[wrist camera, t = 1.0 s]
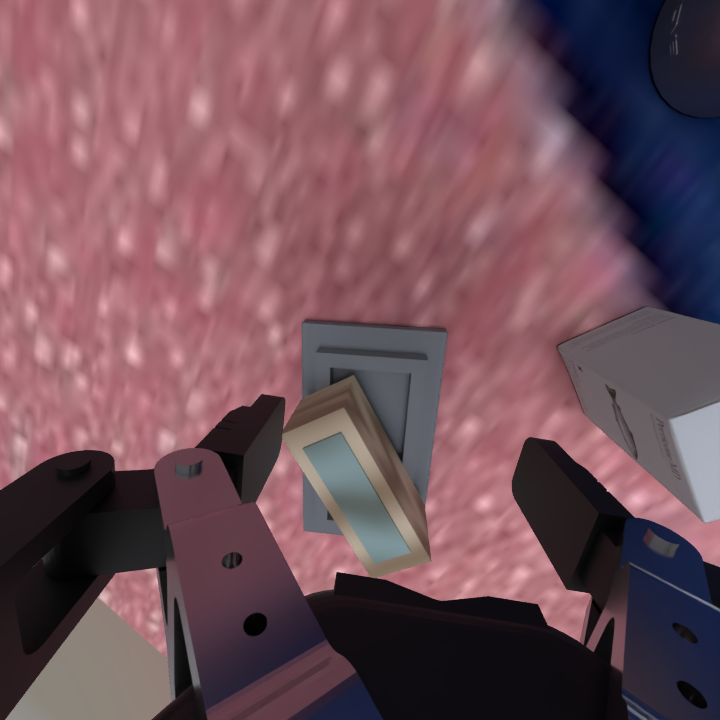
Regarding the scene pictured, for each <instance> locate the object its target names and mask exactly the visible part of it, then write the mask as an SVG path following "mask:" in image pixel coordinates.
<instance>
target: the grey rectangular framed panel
mask: <svg viewBox="0 0 720 720" xmlns="http://www.w3.org/2000/svg"><path fill="white" fill-rule="evenodd" d="M447 335H448V332H447V331H446V329H435V328H420V327H405V326H389V325H374V324H359V323H343V322H328V321H313V320H305V321H304V322H302V393H303V398H304V397H306V396H308V395H311V394H313V393H315V392H317V391H319V390H322V389H324V388H326V387H328V386H330V385H333V384H335V383H337V382H339V381H341V380H344V379H346V378H348V377H350V376H352V375H354V376H355V378H356V380H357V382H358V383H359V385H360V387H361V389H362V391H363V393H364V394H365V396H366V398H367V400H368V402H369V404H370V405H371V407H372V409H373V411H374V413H375V415H376V416H377V418H378V420H379V422H380V424H381V426H382V427H383V429H384V431H385V433H386V435H387V437H388V438H389V440H390V442H391V444H392V446H393V448H394V449H395V451H396V453H397V455H398V457H399V459H400V460H401V462H402V464H403V466H404V468H405V469H406V471H407V473H408V475H409V477H410V479H411V480H412V482H413V484H414V486H415V488H416V490H417V491H418V493H419V495H420V497H421V499H422V501H423V502H424V504H425V503H426V495H427V487H428V480H429V472H430V464H431V457H432V449H433V442H434V434H435V426H436V419H437V411H438V403H439V396H440V388H441V381H442V373H443V365H444V358H445V350H446V342H447ZM303 517H304V531H309V532H318V533H327V534H336V535H343V533H342V531H341V530H340V528H339V527H338V525H337V524H336V522H335V521H334V519H333V517H332V516H331V514H330V513H329V511H328V510H327V508H326V506H325V505H324V503H323V502H322V500H321V499H320V497H319V495H318V494H317V492H316V491H315V489H314V488H313V486H312V485H311V483H310V481H309V480H308V478H307V477H306V475H305V474H304V472H303Z"/></svg>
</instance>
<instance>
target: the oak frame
mask: <svg viewBox="0 0 720 720" xmlns="http://www.w3.org/2000/svg"><path fill="white" fill-rule="evenodd" d="M282 439H283V441H284V442H285V444H286V445H287V447H288V449H289V450H290V452H291V453H292V455H293V456H294V458H295V459H296V461H297V463H298V464H299V466H300V467H301V469H302V470H303V472H304V474H305V475H306V477H307V478H308V480H309V481H310V483H311V485H312V486H313V488H314V489H315V491H316V492H317V494H318V495H319V497H320V499H321V500H322V502H323V503H324V505H325V506H326V508H327V510H328V511H329V513H330V514H331V516H332V517H333V519H334V521H335V522H336V524H337V525H338V527H339V528H340V530H341V531H342V533H343V535H344V536H345V538H346V539H347V541H348V542H349V544H350V546H351V547H352V549H353V550H354V552H355V553H356V555H357V556H358V558H359V560H360V561H361V563H362V564H363V566H364V567H365V569H366V571H367V572H368V574H369V575H370V577H371V578H377V577H380V576H383V575H387V574H390V573H393V572H397V571H400V570H403V569H407V568H410V567H413V566H417V565H420V564H423V563H427V562H430V561H431V554H430V546H429V538H428V529H427V521H426V513H425V504H424V502H423V501H422V499H421V497H420V495H419V493H418V491H417V490H416V488H415V486H414V484H413V482H412V480H411V479H410V477H409V475H408V473H407V471H406V469H405V468H404V466H403V464H402V462H401V460H400V459H399V457H398V455H397V453H396V451H395V449H394V448H393V446H392V444H391V442H390V440H389V438H388V437H387V435H386V433H385V431H384V429H383V427H382V426H381V424H380V422H379V420H378V418H377V416H376V415H375V413H374V411H373V409H372V407H371V405H370V404H369V402H368V400H367V398H366V396H365V394H364V393H363V391H362V389H361V387H360V385H359V383H358V382H357V380H356V378H355V376H354V375H352V376H350V377H348V378H346V379H344V380H341V381H339V382H337V383H335V384H333V385H330V386H328V387H326V388H324V389H322V390H319V391H317V392H315V393H313V394H311V395H308V396H306V397H304V398H302V399H301V401H300V403H299V404H298V406H297V408H296V409H295V411H294V413H293V414H292V416H291V418H290V419H289V421H288V423H287V424H286V426H285V428H284V429H283V434H282Z"/></svg>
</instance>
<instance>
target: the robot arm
mask: <svg viewBox="0 0 720 720" xmlns="http://www.w3.org/2000/svg"><path fill="white" fill-rule="evenodd" d="M650 54H651V70H652V74H653V78H654V82H655V85H656V86H657V88H658V90H659V92H660V94H661V96H662V97H663V98H664V99H665V100H666V101H667V102H668V103H669V105H670V106H671V107H673V108H675V109H676V110H678V111H680V112H682V113H683V114H686V115H690V116H694V117H699V118H714V117H719V116H720V0H666V1H665V3H664V5H663V7H662V9H661V11H660V13H659V16H658V19H657V22H656V25H655V28H654V31H653V37H652V43H651V49H650ZM284 413H285V398H284V397H277V396H271V395H265V394H261V395H260V397H259V398H258V399H257V400H256V401H255V402H254V404H253V405H252V406H251V407H247V406H241V407H239V408H237V409H235V410H232V411H230V412H229V413H228V414H227V415H226V416H225V417H224V418H223V419H222V421H220V422H219V423H218V424H217V425H216V426H215V428H213V429H212V431H211V432H210V433H209V434H208V435H207V436H206V437H205V438H204V439H203V440H202V441H201V442H200V443H199V444H198V445H197V446H196V447H195V448H188V449H182V450H178V451H175V452H172V453H169V454H167V455H166V456H164V457H162V458H161V459H160V460H159V461H158V462H157V463H156V465H155V467H154V469H149V470H131V471H115V464H114V458H113V457H112V456H111V455H110V454H108V453H106V452H102V451H96V450H84V451H75V452H70V453H66V454H62V455H59V456H56V457H53V458H51V459H49V460H47V461H45V462H43V463H41V464H39V465H38V466H36V467H35V468H33V469H32V470H30V471H29V472H27V473H26V474H24V475H23V476H21V477H20V478H18V479H17V480H15V481H14V482H12V483H11V484H9V485H8V486H6V487H5V488H3V489H2V490H0V720H5V719H6V718H7V716H8V715H9V713H10V712H11V711H12V710H13V708H14V707H15V706H16V704H17V703H18V702H19V700H20V699H21V698H22V696H23V695H24V694H25V692H26V691H27V690H28V689H29V687H30V686H31V685H32V683H33V682H34V681H35V679H36V678H37V677H38V675H39V674H40V673H41V671H42V670H43V669H44V667H45V666H46V665H47V663H48V662H49V660H50V659H51V658H52V657H53V655H54V654H55V653H56V651H57V650H58V649H59V647H60V646H61V645H62V643H63V642H64V641H65V640H66V638H67V637H68V635H69V634H70V633H71V631H72V630H73V629H74V628H75V626H76V625H77V623H78V622H79V621H80V620H81V618H82V617H83V616H84V614H85V613H86V612H87V610H88V609H89V608H90V606H91V605H92V604H93V602H94V601H95V600H96V598H97V597H98V596H99V595H100V593H101V592H102V591H103V589H104V588H105V587H106V585H107V584H108V583H109V581H110V580H111V579H112V577H113V576H114V575H115V573H120V572H127V571H135V570H143V569H151V568H156V570H157V578H158V585H159V592H160V599H161V607H162V614H163V621H164V628H165V635H166V643H167V654H168V667H169V678H170V679H169V680H170V690H171V698H172V702H171V703H170V704H169V705H168V706H167V707H166V708H164V709H163V710H162V711H161V712H160V713H159V714H157V715H156V716H155V717H154V718H153V719H152V720H720V567H718V566H715V565H712V564H709V563H707V562H704V561H703V559H702V557H701V555H700V553H699V552H698V551H697V549H696V548H695V547H694V546H693V545H692V544H690V543H689V542H688V541H687V540H685V539H684V538H683V537H681V536H680V535H678V534H677V533H675V532H673V531H672V530H670V529H668V528H666V527H664V526H662V525H660V524H657V523H655V522H652V521H649V520H646V519H641V518H635V517H634V516H633V515H632V514H631V513H630V512H629V511H628V510H627V509H626V508H625V507H624V506H623V505H622V504H621V503H620V502H619V501H618V500H617V499H616V498H615V497H614V496H613V495H612V494H611V493H610V492H607V491H606V490H607V489H606V488H605V487H604V486H603V485H602V484H601V483H600V482H597V479H596V478H595V477H594V476H593V475H592V474H591V473H590V472H589V471H588V470H587V469H585V468H584V467H582V466H581V465H579V464H578V463H576V462H575V461H574V460H573V459H572V458H571V457H570V456H569V455H568V454H567V453H566V452H565V451H564V450H563V449H562V448H561V447H560V446H559V445H558V444H557V443H556V442H555V441H551V440H545V439H539V438H532V437H529V438H527V439H526V441H525V442H524V445H523V448H522V451H521V454H520V457H519V460H518V463H517V466H516V470H515V473H514V476H513V479H512V493H513V496H514V498H515V500H516V502H517V504H518V506H519V507H520V509H521V511H522V512H523V514H524V516H525V518H526V519H527V521H528V523H529V525H530V526H531V528H532V530H533V532H534V533H535V535H536V537H537V539H538V540H539V542H540V544H541V546H542V547H543V549H544V551H545V553H546V554H547V556H548V558H549V559H550V561H551V563H552V565H553V566H554V568H555V570H556V572H557V573H558V575H559V577H560V579H561V580H562V582H563V584H564V586H565V587H566V589H567V590H573V591H579V592H585V593H590V594H591V596H592V597H591V599H590V601H589V603H588V606H587V608H586V613H585V618H584V623H583V628H582V633H581V638H580V642H578V641H577V640H575V639H573V638H572V637H570V636H568V635H567V634H565V633H563V632H561V631H559V630H557V629H555V628H553V627H551V626H548V625H547V623H546V621H545V619H544V616H543V614H542V612H541V610H540V608H539V606H538V604H533V603H527V602H520V601H514V600H508V599H502V598H495V597H489V596H487V597H477V598H468V599H458V600H448V601H439V600H435V599H432V598H430V597H427V596H425V595H422V594H420V593H417V592H415V591H412V590H410V589H407V588H405V587H402V586H400V585H397V584H395V583H392V582H390V581H387V580H383V579H377V578H371V577H364V576H358V575H352V574H346V573H339V572H337V574H336V580H335V585H334V590H326V591H321V592H316V593H312V594H309V595H306V596H304V595H303V593H302V591H301V589H300V587H299V585H298V583H297V581H296V579H295V577H294V575H293V573H292V571H291V570H290V568H289V566H288V564H287V562H286V560H285V558H284V556H283V554H282V552H281V550H280V548H279V546H278V544H277V543H276V541H275V539H274V537H273V535H272V533H271V531H270V529H269V527H268V525H267V523H266V521H265V519H264V517H263V516H262V514H261V512H260V510H259V508H258V506H257V504H256V501H257V499H258V497H259V495H260V493H261V491H262V489H263V487H264V485H265V483H266V481H267V479H268V477H269V475H270V473H271V471H272V469H273V467H274V465H275V463H276V461H277V458H278V456H279V452H280V448H281V443H282V434H283V423H284ZM33 566H34V567H33Z"/></svg>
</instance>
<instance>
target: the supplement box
mask: <svg viewBox="0 0 720 720" xmlns="http://www.w3.org/2000/svg"><path fill="white" fill-rule="evenodd" d="M558 350H559V352H560V354H561V356H562V358H563V361H564V363H565V365H566V367H567V370H568V372H569V374H570V377H571V379H572V382H573V384H574V387H575V389H576V392H577V395H578V397H579V400H580V403H581V405H582V408H583V411H584V414H585V415H586V416H587V417H588V418H589V419H590V420H591V421H592V422H593V423H594V424H595V425H596V426H597V427H598V428H600V429H601V430H602V431H603V432H604V433H605V434H606V435H607V436H608V437H609V438H611V439H612V440H613V441H614V442H615V443H616V444H617V445H618V446H619V447H621V448H622V449H623V450H624V451H625V452H626V453H627V454H628V455H629V456H630V457H632V458H633V459H634V460H635V461H636V462H637V463H638V464H639V465H640V466H642V467H643V468H644V469H645V470H646V471H647V472H648V473H649V474H651V475H652V476H653V477H654V478H655V479H656V480H657V481H658V482H660V483H661V484H662V485H663V486H664V487H665V488H666V489H667V490H668V491H670V492H671V493H672V494H673V495H674V496H675V497H676V498H677V499H678V500H679V501H680V502H682V503H683V504H684V505H685V506H686V507H687V508H688V509H690V510H691V511H692V512H693V513H694V514H695V515H696V516H697V517H698V518H699V519H700V520H701V521H702V522H705V523H707V522H710V521H714V520H718V519H720V325H719V324H715V323H711V322H707V321H703V320H699V319H695V318H691V317H687V316H683V315H679V314H675V313H672V312H668V311H664V310H660V309H656V308H652V307H648V306H647V307H645V308H642V309H640V310H637V311H635V312H633V313H630V314H628V315H626V316H624V317H621V318H619V319H617V320H614V321H612V322H610V323H608V324H605V325H603V326H601V327H598V328H596V329H594V330H592V331H589V332H587V333H585V334H582V335H580V336H578V337H576V338H574V339H571V340H569V341H567V342H565V343H563V344H561V345H559V346H558Z"/></svg>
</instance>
